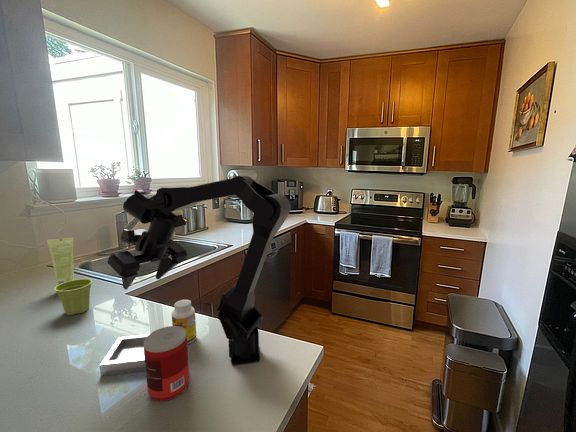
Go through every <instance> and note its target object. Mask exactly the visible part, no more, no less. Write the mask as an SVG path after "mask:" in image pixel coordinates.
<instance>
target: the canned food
mask: <svg viewBox="0 0 576 432" xmlns="http://www.w3.org/2000/svg"><path fill="white" fill-rule="evenodd" d="M148 334H149V335H148V336H147V337H146V338H145V340H144V358H145V368H146V371H145V376H146V387H147V393H148V395H149V396H150V398H151V399H152V400H154V401H156V402H162V401H163V402H164V401H165V402H166V401H170V400H173V399H174V398H177V397H178V396H179V395H181V394H182V393H183V392H184V391H185V390H186V389H187V387H188V385H189V381H190V368H189V367H190V365H189V350H188V349H189V348H188V344H187V335H186V331H185V329H184V328H182V327H179V326H172V325H169V326H165V327H164V326H163V327H160V328H158V329H156V330H154V331H152V332H150V333H148Z"/></svg>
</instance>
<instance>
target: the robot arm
mask: <svg viewBox="0 0 576 432" xmlns="http://www.w3.org/2000/svg"><path fill="white" fill-rule="evenodd" d="M231 196H236V197H238V198H239V200H240V201H241V202H242V204H243V206H245V207H246V209H248V210H249V211H250V212H252V217H251V224H252V225H251V226H252V235H251V238H250V241H249V244H248V246H247V250H246V254H245V255H244V259H243V262H242V265H241V267H240V271H239V273H238V276H237V279H236V281H235V285H233V286H232V287H230V288H229V289H228V290H226V292H224V293H222V295H221V298H220V302H219V303H220V304H219V306H218V307H217V309H216V311H218V314H217V317H218V318H217V319H218V320H219V321H220V324H221V326H222V329H223V332H224V334H225V337H226V339H228V357H229V358H230V359H231V360H230V363H231V365H232V366H233V365H241V364H249V363H257V362H260V361H261V354H260V337H259V335H260V334H259V333H260V332H259V327H258V326H259V325H260V324H261V323H262V320H263V318H264V315H263V314H262V313H261V312H260V311H259V310H258V308H257V307H256V306H255V301H256V297H255V295H256V294H255V289H256V286H257V283H258V281H259V278H260V275H261V272H262V269H263V268H264V267H263V266H264V265H265V261H266V259H267V256H268V253H269V251H270V248H271V246H272V243H273V239H274V237H275V236H276V235H277V233H278V232H279V230H280V229H281V228H282V226H283V225H284V224H285V222H286V220H287V218H288V216H289V214H290V212H291V211H292V209H291V208H292V206H291V202H290V201H289V199H288V198H287V196H285V195H284V194H281V193H275V191H273V190H272V189H269V188H268V187H266V186H265V185H263V184H261V183H259V182H257V181H256V180H254V179H253V178H252V177H251V176H249V175H235V176H233V177H231V178H225V179H222V180H218V181H217V180H216V181H212V182H207V183H203V184H199V185H194V186H193V185H190V186H189V185H180V186H179V185H178V186H166V187H159V188H158V189H157V190H156V192H155V195H153V196H151V195H150V194H148V193H147V192H146V190H143V189H136V190H134V193H132V194H131V195H130V196H129V197H127V199H126V200H125V201H124V202H123V206H122V207H123V211H124V212H125V213H126V214H128V215H129V216H131V217H132V218H134V219H135V220H136V221H138V222H140V223H141V224H143V225H145V224H149V223H150V224H149V227H148V229H144V228H139V229H131V228H127V229H125V228H124V229H123V230H122V232H121V235H120V236H121V237H120V240H121V242H123V243H125V244H128V245H133V246H135V247H134V249H135V250H136V251H137V252H140V253H139V254H138V255H133V254H131V252H130V251H129V250H125V251H119V252H114V253H110V255H109V256H108V260H107V264H108V265H109V266H110V267H111V268H112V269H113V270H114V271H115V273H117V274H118V276H119V277H121V283H122V286H123V289H124V290H125V291H126V290H128V289H129V288H130V286H131V285H132V283H133V282H134V281H135V280H136V278H137V276H138V275H139V273H138V271H140V268H141V265H144V264H149V263H153V262H158V261H160V262H159V264H158V268H157V270H156V273H155V278H156V280H160V279H161V278H163V277H164V276H165V275H166V274H167V273H168V272H170V271H171V270H172V269H174V268H175V267H176V266H178V265H179V264H181V263H182V262H183V261H186V259H187V257H188V251H187V249H186V248H184V247H183V246H182V245H181V244H179V242H177V241H174V239H172V238H173V236H174V233H175V231H176V229H178V228H180V227H185V226H187V222H186V219H185V218H184V216H183V214H176V213H175V212H176V211H177V212H178V211H182V210H183V211H184V210H186V209H188V208H191V207H193V206H195V205H197V204H200V203H201V202H206V201H210V200H215V199H219V198H226V197H227V198H228V197H231Z"/></svg>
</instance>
